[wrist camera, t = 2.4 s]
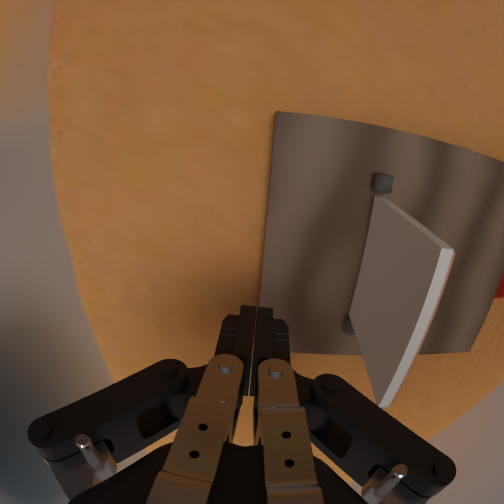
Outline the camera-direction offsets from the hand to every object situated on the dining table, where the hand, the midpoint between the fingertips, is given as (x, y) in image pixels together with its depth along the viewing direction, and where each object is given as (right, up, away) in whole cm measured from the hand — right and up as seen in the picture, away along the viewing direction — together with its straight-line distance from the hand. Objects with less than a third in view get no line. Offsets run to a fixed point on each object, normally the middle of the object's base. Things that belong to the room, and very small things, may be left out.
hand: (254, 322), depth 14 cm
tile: (+8, +1, +3) cm, 9 cm away
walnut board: (+13, +3, +10) cm, 17 cm away
